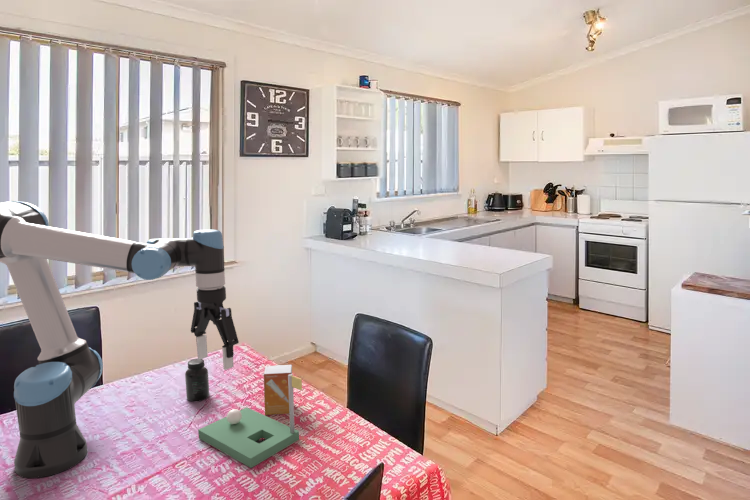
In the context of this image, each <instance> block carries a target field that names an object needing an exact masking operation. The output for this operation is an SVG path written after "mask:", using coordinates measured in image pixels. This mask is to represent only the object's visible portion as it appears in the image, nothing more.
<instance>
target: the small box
mask: <svg viewBox="0 0 750 500" xmlns="http://www.w3.org/2000/svg"><path fill="white" fill-rule="evenodd" d="M289 374H292V375H293V364H276V365H265V366H264V371H263V388H264V389H263V391H264V392H263V394H264V396H263V397H264V399H263V400H264V415H265V416H269V415H272V416H273V415H285V414H286V415H289V385H288V375H289Z"/></svg>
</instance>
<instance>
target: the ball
mask: <svg viewBox="0 0 750 500" xmlns="http://www.w3.org/2000/svg"><path fill="white" fill-rule="evenodd" d="M226 417H227V421H228V422H229V423H230V424H237V423H239V422H240V420H241V418H242V414H241V412H240V410H239V409H236V408H233V409H231V410H229V411H228V412H227V414H226Z"/></svg>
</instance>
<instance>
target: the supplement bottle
mask: <svg viewBox="0 0 750 500" xmlns="http://www.w3.org/2000/svg"><path fill="white" fill-rule="evenodd" d="M205 366H206V365H205V359H204V358H203V359H200V360H199V359H198V358H192V359H190V360H189V361H187V369H186V370H185V372H184V378H185V392H186V393H185V394H186V399H187V400H188V401H190V402H201V401H204V400H206V399H208V397H209V396H210V383H209V371H208V368H207V367H205Z"/></svg>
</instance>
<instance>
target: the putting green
mask: <svg viewBox="0 0 750 500" xmlns="http://www.w3.org/2000/svg"><path fill="white" fill-rule="evenodd" d="M302 380H303V379H302V378H300V377H297V376H295V375H293V373H292V374H289V375H288V385H289V414H288V415H289V425H286V424H284V423H282V422H280V421H278V420H276V419H274V418H271V417H269V416H268V415H265V414H263V413H260V412H259V411H256V410H254V409H251V408H250V407H247V406H246V407H244V408H242V409H240V410H239V411H240V412H241V414H242V418H241V420H240V422H239V423H237V424H230V423H229V422H228V421H227V416H225V417H223V418H220V419H218V420H216V421H214V422H212V423H209V424H208V425H206V426H203V427H202V428H201V427H200V428H199V429H197V430H198V431H197V432H198V439H199V440H201V441H202V442H205V443H206V444H207V445H210V446H212V447H213V448H215V449H217V450H219V452H221V453H224V454H226V455H227V456H229V457H231V458H232V459H234V460H236V461H238V462H240V463H241V464H243V465H245V466H247V467H248V468H250V469H252V468H253V467H256V466H257V465H259V464H260V463H262V462H264V461H266V460H267V459H269V458H271V457H272V456H274V455H276V454H278V453H279V452H281V451H282V450H284V449H286V448H288V447H289V446H291V445H293V444H295V443H296V442H298V441H299V440H300V430H298V429H295V404H294V403H295V401H294V389H297V390H300V391H302V390H303V381H302Z"/></svg>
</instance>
